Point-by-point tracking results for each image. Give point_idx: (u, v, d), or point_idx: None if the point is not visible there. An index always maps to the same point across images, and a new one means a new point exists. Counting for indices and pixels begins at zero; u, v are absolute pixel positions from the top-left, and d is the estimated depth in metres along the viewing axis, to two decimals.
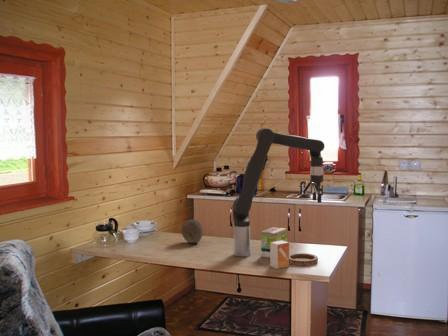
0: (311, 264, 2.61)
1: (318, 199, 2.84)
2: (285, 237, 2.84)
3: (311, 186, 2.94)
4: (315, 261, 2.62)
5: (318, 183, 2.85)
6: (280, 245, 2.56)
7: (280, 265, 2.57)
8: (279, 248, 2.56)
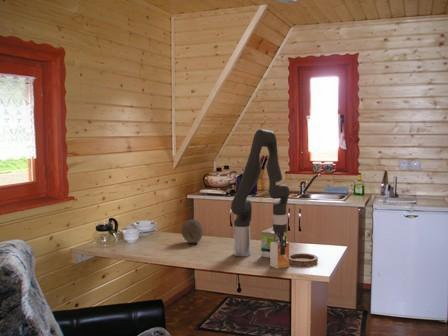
0: (311, 264, 2.61)
1: (281, 251, 2.55)
2: None
3: (275, 235, 2.65)
4: (315, 261, 2.62)
5: (281, 233, 2.56)
6: None
7: (280, 265, 2.57)
8: (279, 248, 2.56)
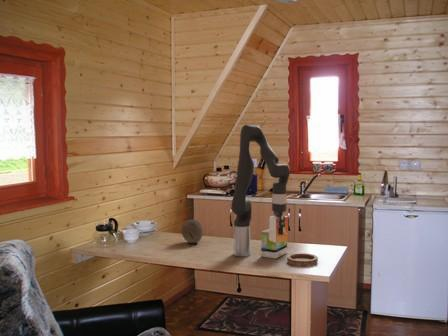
0: (311, 264, 2.61)
1: (279, 231, 2.54)
2: None
3: (274, 215, 2.64)
4: (315, 261, 2.62)
5: (280, 213, 2.54)
6: (279, 219, 2.55)
7: (278, 239, 2.56)
8: (278, 221, 2.54)
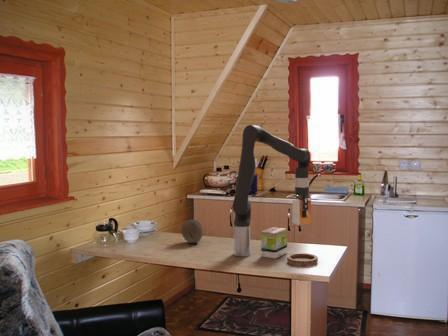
0: (311, 264, 2.61)
1: (303, 214, 2.61)
2: (285, 237, 2.84)
3: None
4: (315, 261, 2.62)
5: (303, 196, 2.61)
6: (302, 202, 2.61)
7: (302, 222, 2.62)
8: (301, 204, 2.61)
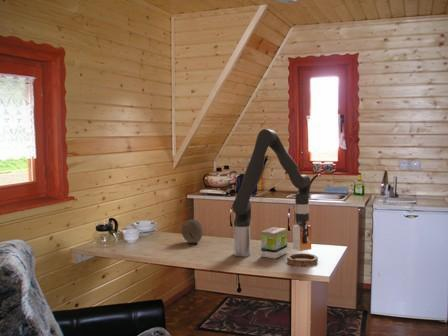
0: (311, 264, 2.61)
1: (303, 240, 2.62)
2: (285, 237, 2.84)
3: (296, 224, 2.72)
4: (315, 261, 2.62)
5: (303, 222, 2.62)
6: None
7: (302, 248, 2.63)
8: (301, 231, 2.62)
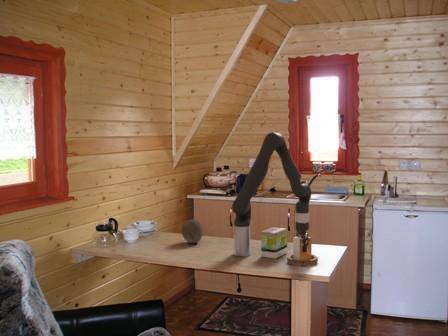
0: (311, 264, 2.61)
1: (303, 249, 2.62)
2: (285, 237, 2.84)
3: (296, 233, 2.72)
4: (315, 261, 2.62)
5: (303, 231, 2.62)
6: None
7: None
8: (301, 242, 2.62)
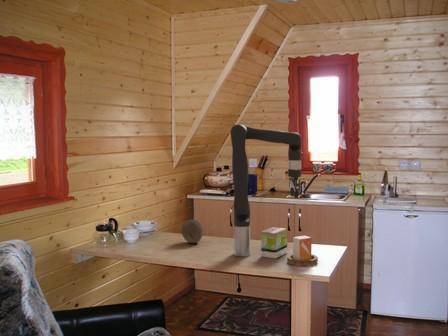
0: (311, 264, 2.61)
1: (295, 194, 2.72)
2: (285, 237, 2.84)
3: (289, 181, 2.82)
4: (315, 261, 2.62)
5: (295, 178, 2.72)
6: (302, 240, 2.63)
7: None
8: (301, 242, 2.62)
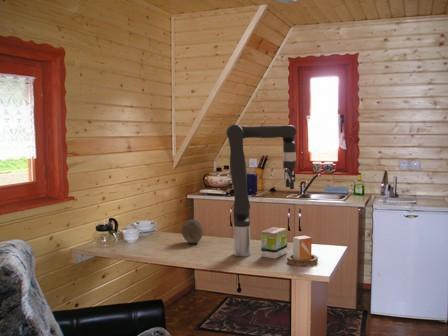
0: (311, 264, 2.61)
1: (290, 185, 2.79)
2: (285, 237, 2.84)
3: (284, 173, 2.89)
4: (315, 261, 2.62)
5: (290, 169, 2.79)
6: (302, 240, 2.63)
7: None
8: (301, 242, 2.62)
